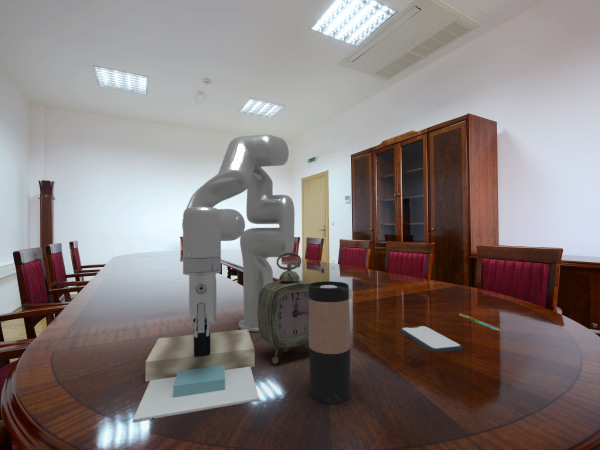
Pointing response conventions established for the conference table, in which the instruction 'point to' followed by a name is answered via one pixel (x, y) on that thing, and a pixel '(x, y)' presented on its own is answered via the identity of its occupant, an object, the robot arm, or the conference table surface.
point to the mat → (196, 396)
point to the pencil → (480, 322)
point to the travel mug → (329, 341)
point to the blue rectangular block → (199, 381)
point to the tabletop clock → (284, 310)
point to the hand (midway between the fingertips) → (202, 354)
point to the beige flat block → (180, 356)
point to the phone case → (431, 339)
